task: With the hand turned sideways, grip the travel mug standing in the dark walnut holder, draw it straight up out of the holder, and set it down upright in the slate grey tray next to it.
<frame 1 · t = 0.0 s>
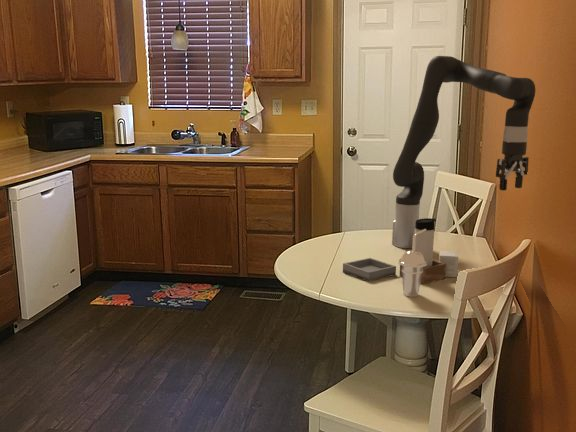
hand: (510, 189, 208), 29 cm above the table, tool pointing down, fingers open, 8 cm apart
drinking straw: (411, 294, 192), on the table
slate tray: (369, 273, 213), on the table
walnut holder: (422, 277, 210), on the table
product box: (447, 275, 213), on the table
travel mug: (422, 277, 210), resting in walnut holder
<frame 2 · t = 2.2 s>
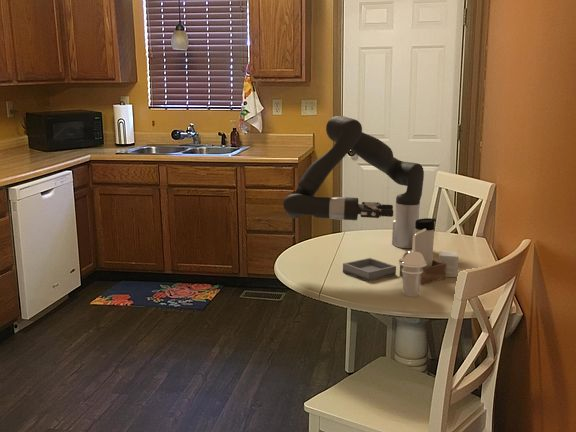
hand: (393, 210, 206), 22 cm above the table, tool horizontal, fingers open, 8 cm apart
nothing on the table moved.
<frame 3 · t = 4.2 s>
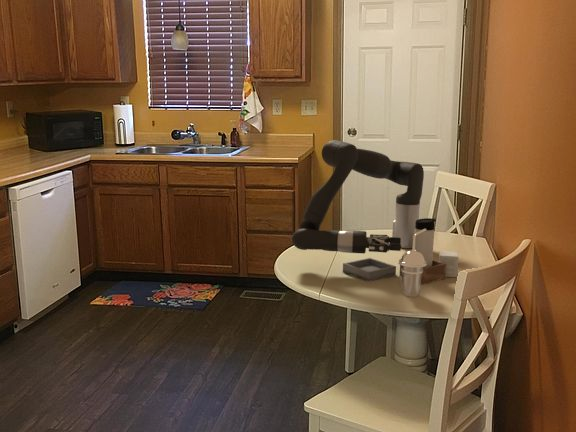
hand: (400, 244, 208), 11 cm above the table, tool horizontal, fingers open, 8 cm apart
nothing on the table moved.
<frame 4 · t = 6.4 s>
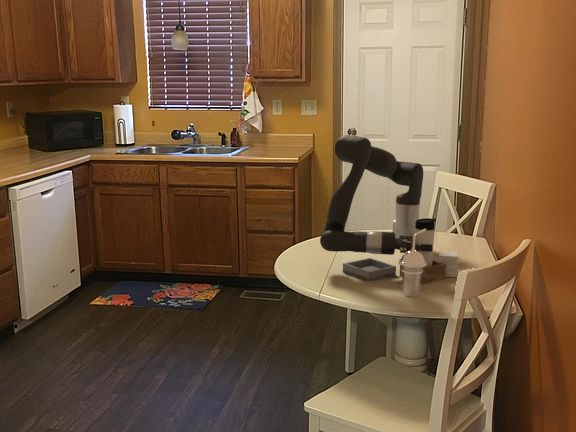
hand: (431, 245, 207), 11 cm above the table, tool horizontal, fingers closed on travel mug, 6 cm apart
travel mug: (422, 277, 210), resting in walnut holder, touching gripper
everything else where it was.
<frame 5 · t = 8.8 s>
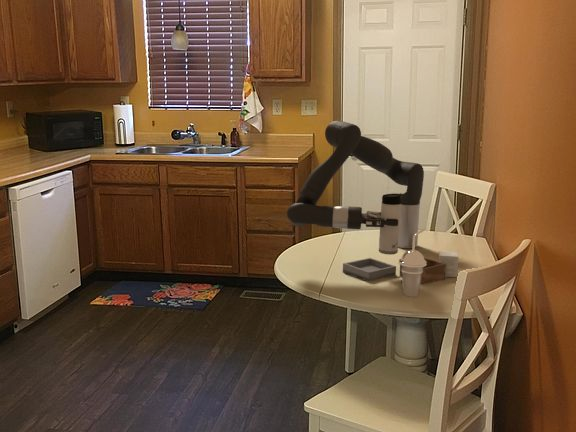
hand: (397, 220, 207), 19 cm above the table, tool horizontal, fingers closed on travel mug, 6 cm apart
travel mug: (388, 252, 210), point 8 cm above the table, touching gripper
everything else where it was.
when the fingers open (13 cm above the table, at t = 11.2 s): travel mug drops 1 cm, resting on slate tray.
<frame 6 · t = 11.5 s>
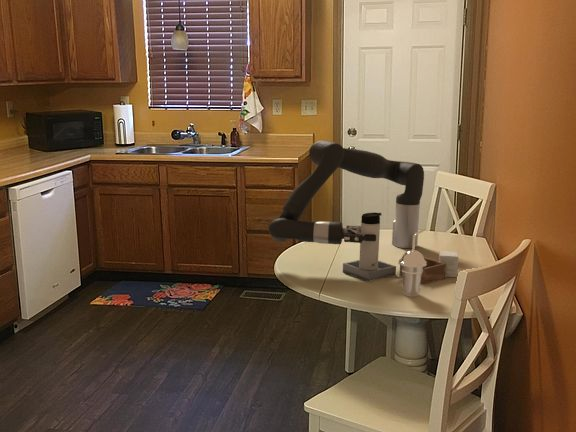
hand: (376, 234, 210), 13 cm above the table, tool horizontal, fingers open, 8 cm apart
travel mug: (368, 271, 213), point 1 cm above the table, touching slate tray
everything else where it was.
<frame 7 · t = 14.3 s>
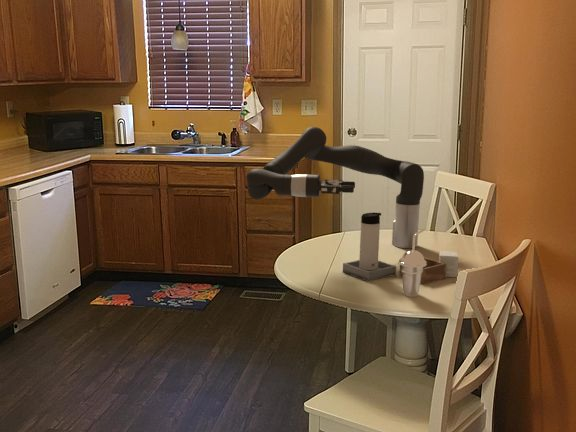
hand: (354, 187, 207), 29 cm above the table, tool horizontal, fingers open, 8 cm apart
nothing on the table moved.
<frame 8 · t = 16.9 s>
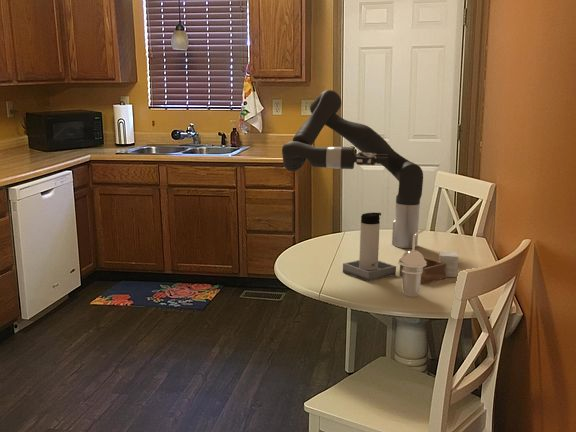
hand: (388, 159, 212), 38 cm above the table, tool horizontal, fingers open, 8 cm apart
nothing on the table moved.
at the end: travel mug inside the target area on the slate tray (0.1 cm from its centre), point 0.8 cm above the slate tray's base; travel mug tilted 0°; the gripper is holding nothing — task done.
